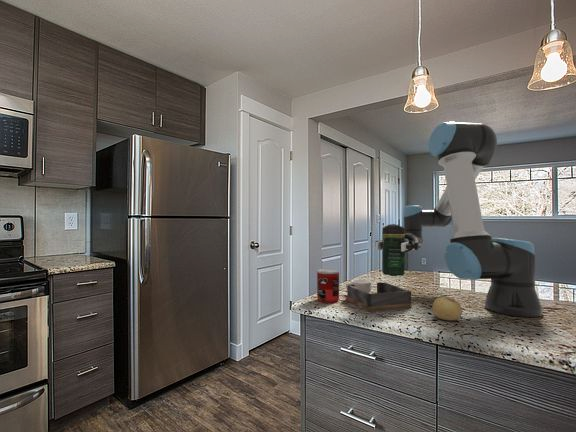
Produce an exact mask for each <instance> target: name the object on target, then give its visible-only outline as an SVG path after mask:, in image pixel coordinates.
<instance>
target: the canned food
mask: <svg viewBox="0 0 576 432" xmlns="http://www.w3.org/2000/svg"><path fill="white" fill-rule="evenodd" d="M316 283H317V284H316V290H317V291H316V293H317V294H316V296H317V297H316V299H317V300H318V302H319V303H325V304H333V303H337V302H339V300H340V271H339V270H338V269H333V268H320V269H317V271H316Z"/></svg>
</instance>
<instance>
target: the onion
mask: <svg viewBox="0 0 576 432" xmlns="http://www.w3.org/2000/svg"><path fill="white" fill-rule="evenodd" d="M454 298H455V296H453V297H449V296H442V297H439V298H437V299H435V300H434V302H433V303H432V306H431V308H432V313H433V314H434V316H435V317H436V318H438V319H440V320H443V321H457V320H459V319H460V318H461V317H462V314H463V307H462V306H461V304H460V302H458V301H457V300H456V299H454Z"/></svg>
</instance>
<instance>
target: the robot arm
mask: <svg viewBox="0 0 576 432" xmlns="http://www.w3.org/2000/svg"><path fill="white" fill-rule="evenodd" d="M427 146H428V147H427V149H428V152H429V154H430V155H431V156H433V157H436V158H437V163H438V165H439V166H441V167H443V169H444V176H445V182H446V183H445V184H446V187H445V190H444V191H443V193H442V195H441V197H440V198H439V200H438V201H437V204H436V205H435V207H434V208H433V209H423V207H422V205H406V206H404V208H403V214H402V215H403V217H402V218H403V219H402V220H403V227H404V230H405V243H401V251H405V253H410V252H411V251H414V250H415V251H418V250H419V249H420V248H421V247H422V246H423V245H424V243H425V239H424V236H423V228H448V227H451V226H452V227H453V235H452V236H451V237H450V239H449V240H450V243H449V244H447V246H446V247H445V251H444V261H445V265H446V267H447V268H448V271H449V272H450V273H452V275H453V276H455V277H456V278H458V279H461V280H471V281H473V280H474V281H477V280H490V286H489V288H488V291H487V294H486V297H485V300H484V307H485V309H487V310H489V311H492V312H495V313H499V314H503V315H508V316H515V317H524V318H537V317H541V316H543V314H544V313H543V306H542V305H541V301H540V297H539V295H538V293H537V290H536V253H535V245H534V244H533V243H532V242H530V241H527V240H518V239H511V238H501V237H492V235H491V234H490V233H488V232H487V231H485V226H484V221H483V215H482V211H481V204H480V199H479V194H478V188H477V184H476V179H477V178H478V176H479V174H480V173H481V171H482V170H483V168H485V167H488V166H489V164H490V163H491V162H492V161H493V158H494V157H495V154H496V151H497V147H498V137H497V134H496V133H495V130H494V129H493V128H492V127H491V126H489V125H488V124H485V123H481V122H477V123H476V122H455V121H449V122H448V121H447V122H446V121H444V122H440V123H438V124H437V125H436V126H435V127H434V128H433V130H432V131H431V134H430V136H429V139H428V145H427ZM374 243H375V244H374V247H375V250H376V251H380V250H381V251H382V239H381V240H375V242H374Z"/></svg>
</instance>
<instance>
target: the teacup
mask: <svg viewBox="0 0 576 432" xmlns="http://www.w3.org/2000/svg"><path fill="white" fill-rule="evenodd" d="M348 284H354V285H355V287H356V288H358V289H360V290H362V291H365V292H367V293H369V294H370V293H371V292H372V281H371V280H369V279H360V278H357V279H351V281H350V283H349V282H348V283H346V284H345V290H347V285H348Z"/></svg>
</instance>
